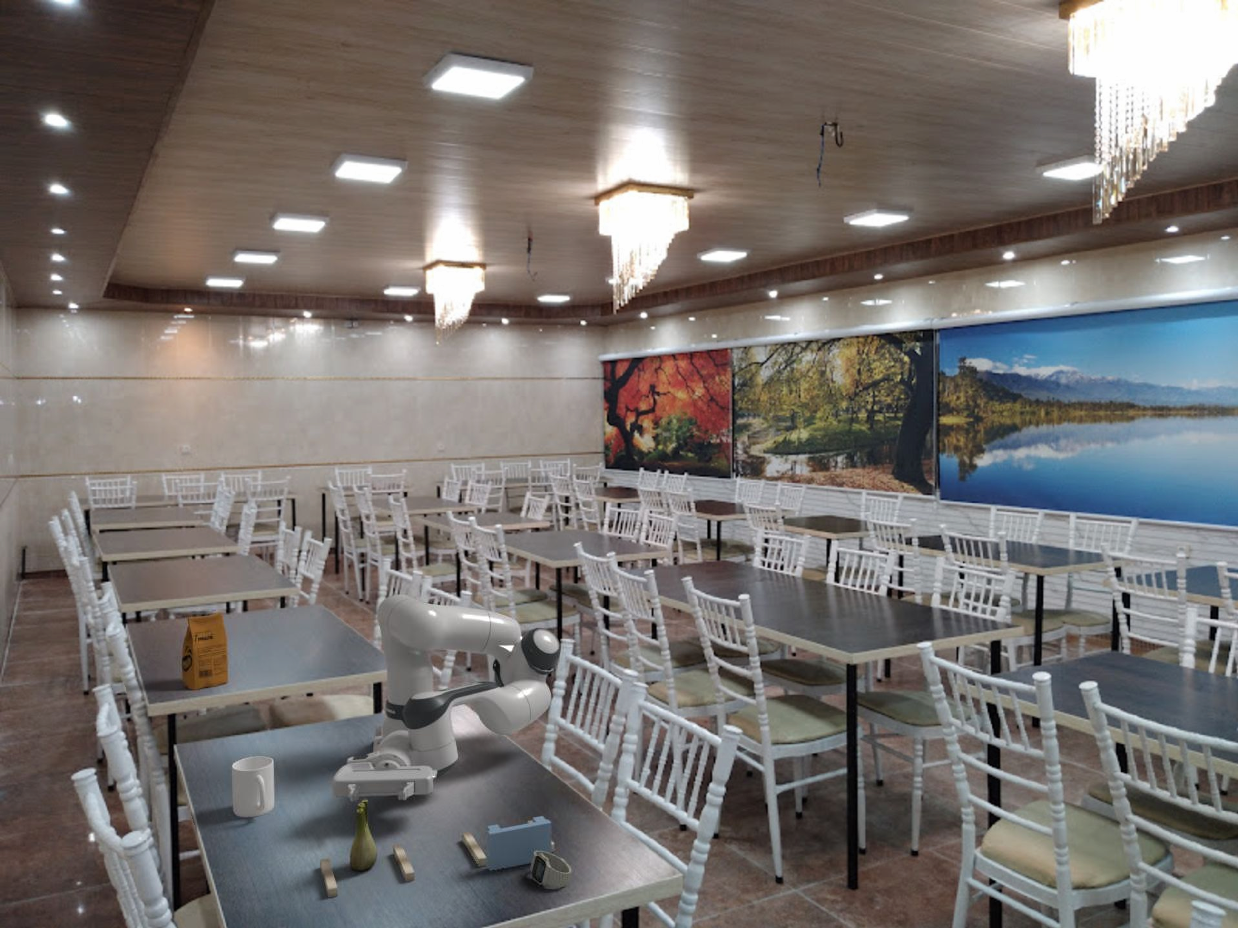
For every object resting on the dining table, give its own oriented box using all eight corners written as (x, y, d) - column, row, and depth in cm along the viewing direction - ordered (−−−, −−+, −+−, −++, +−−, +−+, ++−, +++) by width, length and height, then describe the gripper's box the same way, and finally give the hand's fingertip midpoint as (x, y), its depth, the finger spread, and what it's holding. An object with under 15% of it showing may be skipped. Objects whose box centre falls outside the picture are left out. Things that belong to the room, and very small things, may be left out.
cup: (268, 798, 209) (267, 753, 209) (284, 817, 199) (283, 770, 199) (228, 807, 204) (227, 761, 204) (243, 827, 195) (241, 779, 194)
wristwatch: (523, 873, 175) (522, 847, 175) (551, 863, 179) (551, 837, 179) (550, 893, 168) (550, 866, 168) (579, 882, 172) (579, 855, 171)
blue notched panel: (485, 862, 179) (484, 826, 179) (545, 850, 184) (545, 815, 183) (490, 871, 176) (490, 834, 175) (551, 858, 181) (551, 822, 180)
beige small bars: (320, 867, 177) (320, 859, 177) (534, 826, 194) (534, 819, 194) (328, 897, 166) (328, 889, 166) (554, 851, 184) (554, 843, 183)
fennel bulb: (363, 857, 181) (361, 796, 181) (384, 862, 179) (383, 800, 179) (343, 871, 176) (342, 808, 175) (365, 876, 174) (363, 812, 173)
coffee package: (178, 685, 296) (176, 615, 295) (219, 677, 305) (217, 609, 303) (190, 692, 289) (188, 620, 288) (231, 683, 298) (229, 614, 296)
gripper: (438, 783, 204) (430, 810, 190) (341, 786, 202) (326, 814, 188) (438, 754, 203) (430, 779, 190) (340, 757, 202) (325, 782, 188)
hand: (377, 796), depth 189 cm, fingers open, 8 cm apart
